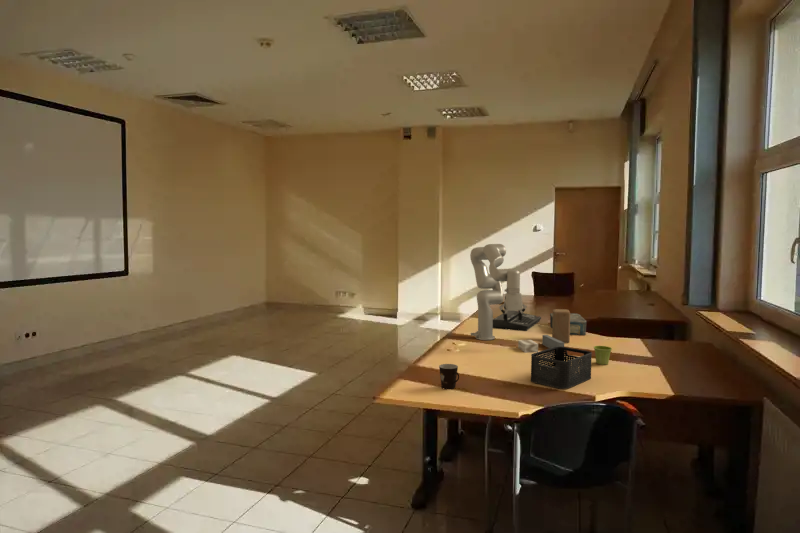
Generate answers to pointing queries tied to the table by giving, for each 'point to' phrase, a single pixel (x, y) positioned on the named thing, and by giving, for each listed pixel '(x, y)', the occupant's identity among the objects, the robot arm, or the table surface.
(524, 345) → the off-white block
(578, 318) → the metal box
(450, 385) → the coffee mug
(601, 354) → the plant pot
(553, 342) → the curved slate gray block
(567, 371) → the storage bin
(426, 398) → the table surface
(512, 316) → the vintage computer
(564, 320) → the wooden block
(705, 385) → the table surface
